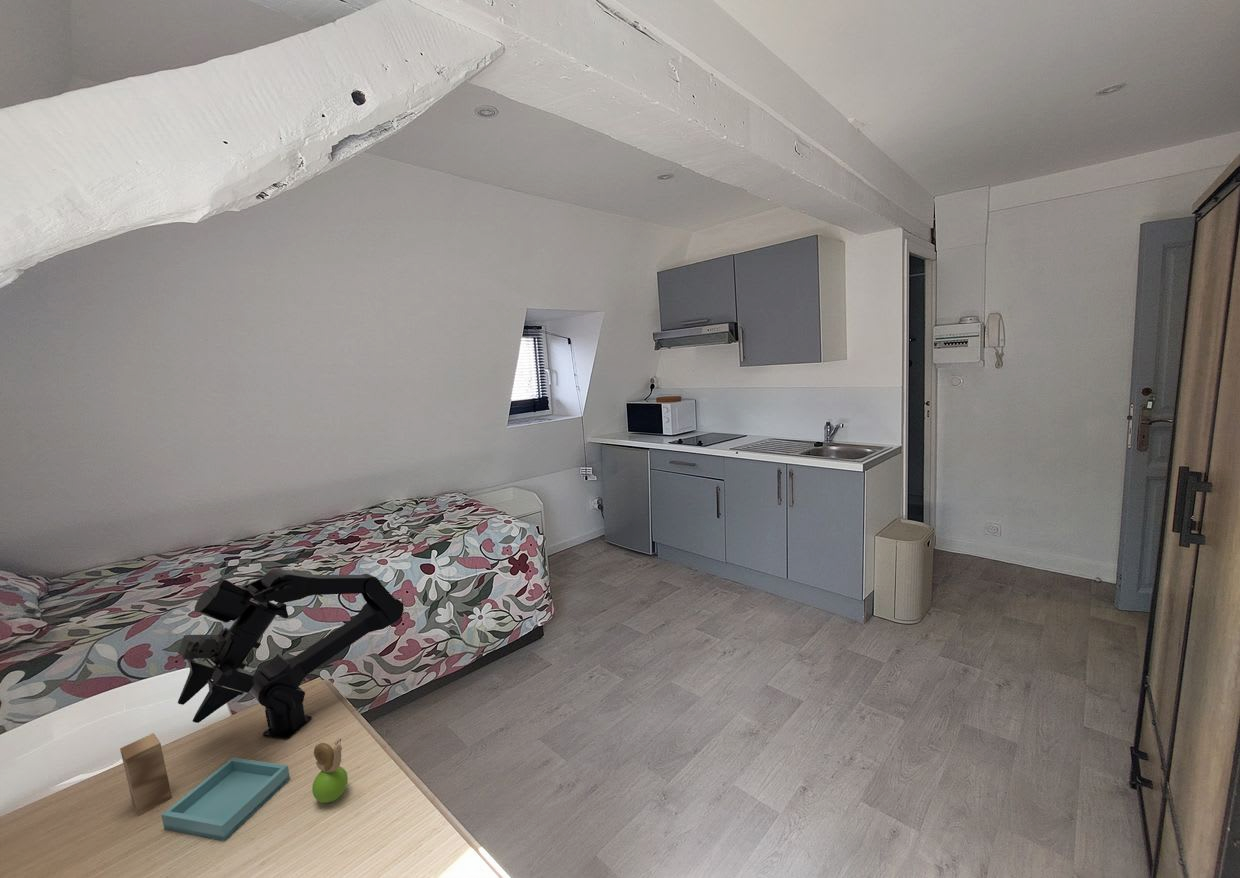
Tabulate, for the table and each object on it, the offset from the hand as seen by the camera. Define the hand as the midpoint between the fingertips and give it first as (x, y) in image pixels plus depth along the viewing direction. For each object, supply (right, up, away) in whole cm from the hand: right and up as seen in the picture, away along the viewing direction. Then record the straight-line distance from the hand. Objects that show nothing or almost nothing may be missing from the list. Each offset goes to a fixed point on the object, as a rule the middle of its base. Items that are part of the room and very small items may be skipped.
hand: (187, 712), depth 95 cm
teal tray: (+12, -13, -5) cm, 18 cm away
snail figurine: (+30, -12, -5) cm, 33 cm away
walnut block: (-3, -14, -3) cm, 15 cm away
